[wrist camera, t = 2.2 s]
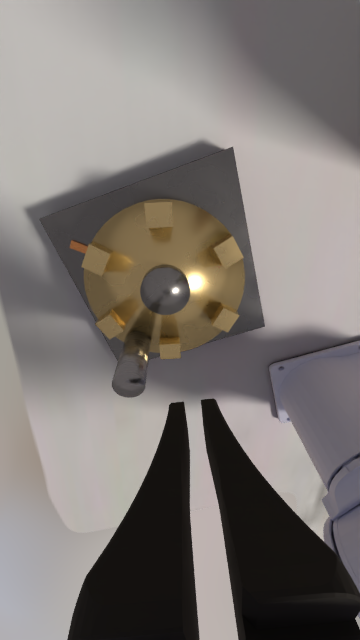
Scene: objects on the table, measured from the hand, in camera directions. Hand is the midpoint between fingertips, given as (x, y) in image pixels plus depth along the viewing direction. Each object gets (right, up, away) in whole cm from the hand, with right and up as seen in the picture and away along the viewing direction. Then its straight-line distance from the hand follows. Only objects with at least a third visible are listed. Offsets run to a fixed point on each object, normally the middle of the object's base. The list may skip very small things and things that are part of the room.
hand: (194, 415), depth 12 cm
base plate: (-2, +8, +6) cm, 10 cm away
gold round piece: (-2, +7, +5) cm, 9 cm away
